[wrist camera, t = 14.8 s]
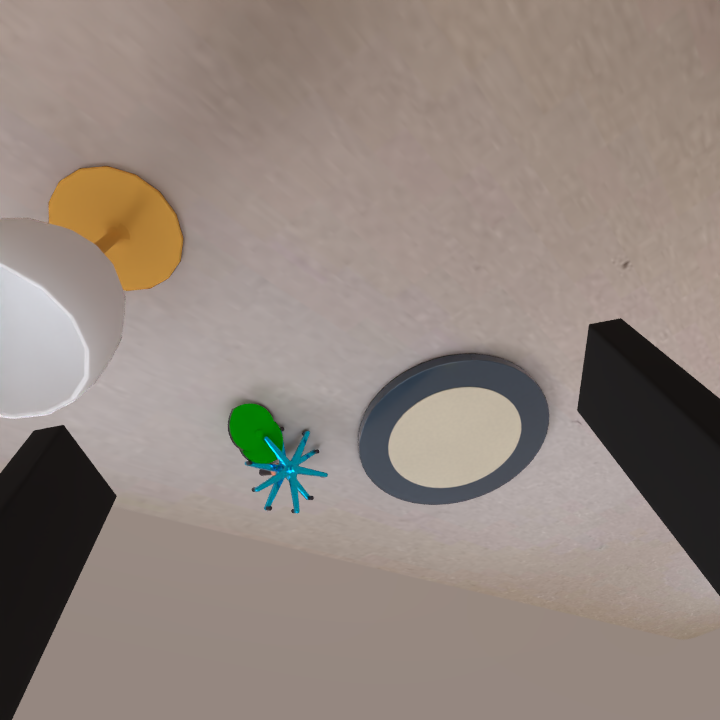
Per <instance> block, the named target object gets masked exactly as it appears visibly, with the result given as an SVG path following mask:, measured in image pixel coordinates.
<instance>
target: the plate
mask: <svg viewBox="0 0 720 720" xmlns="http://www.w3.org/2000/svg"><path fill="white" fill-rule="evenodd" d="M548 426H549V409H548V404H547V401H546V398H545V395H544V394H543V392H542V390H541V389H540V387H539V386H538V384H537V383H536V382H535V381H534V379H533V378H532V377H531V376H530V375H529V374H528V373H527V372H526V371H524V370H523V369H522V368H521V367H519V366H517V365H515V364H514V363H512V362H510V361H507V360H504V359H502V358H499V357H494V356H490V355H483V354H457V355H449V356H445V357H441V358H436V359H433V360H430V361H427V362H424V363H422V364H420V365H417V366H415V367H413V368H411V369H409V370H407V371H406V372H404V373H402V374H401V375H399V376H398V377H396V378H395V379H394V380H392V381H391V382H390V383H389V384H387V385H386V386H385V387H384V388H383V389H382V390H381V391H380V392H379V393H378V394H377V396H376V397H375V398H374V399H373V401H372V402H371V403H370V405H369V407H368V408H367V410H366V412H365V414H364V416H363V419H362V421H361V424H360V428H359V434H358V446H359V454H360V459H361V463H362V466H363V468H364V470H365V472H366V474H367V475H368V477H369V478H370V479H371V480H372V482H373V483H374V484H375V485H377V486H378V487H379V488H380V489H381V490H383V491H384V492H386V493H388V494H389V495H391V496H393V497H396V498H398V499H401V500H404V501H408V502H412V503H418V504H428V505H440V504H451V503H458V502H462V501H466V500H470V499H473V498H476V497H479V496H482V495H484V494H487V493H489V492H491V491H493V490H495V489H497V488H499V487H501V486H502V485H504V484H506V483H507V482H509V481H510V480H511V479H513V478H514V477H515V476H517V475H518V474H519V473H520V472H521V471H522V470H523V469H525V468H526V467H527V465H528V464H529V463H530V462H531V461H532V460H533V459H534V457H535V456H536V454H537V453H538V451H539V450H540V448H541V446H542V444H543V442H544V440H545V437H546V434H547V430H548Z"/></svg>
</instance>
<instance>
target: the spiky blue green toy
mask: <svg viewBox="0 0 720 720" xmlns="http://www.w3.org/2000/svg"><path fill="white" fill-rule="evenodd" d="M282 431H284V428H283V427H281V428H279V426H278V425H277V423H276V422H275V421H273V418H272V416H271V414H270V413H269V412H268V411H267V410H266V409H265V408H264V407H262V406H260V405H257V404H243V405H240V406H237V407H235V408H234V409H232V411H231V413H230V416H229V420H228V432H229V436H230V438H231V440H232V442H233V443H234V445H235V446H236V447H238V448H239V449H240V452H241V454H242V455H243V456H244V457H245V458H246V459H247V460H248V461H246V462H245V465H247V466H251V467H255V468H260V471H259V474H260V475H261V476H266V475H273V476H272V477H271V478H269V479H268V480H266V481H265V482H263V483H262V484H260V485H259V486H257V487H253V488H252V491H253V492H259V491H260V490H262V489H264V488H266V487H268V486H270V485H272V484H274V485H273V487H272V490H271V492H270V494H269V497H268V499H267V502H266V504H265V507H264V510H272V507H271V504H272V502H273V500H274V498H275V496H276V494H277V492H278V490H279V488H280V486H281V484H282V482H283V480H284V478H286V479H287V480H288V481H289V483H290V489H291V495H292V500H293V506H294V509H292V510H291V512H292V513H299V499H298V491H299V492H300V493H301V494H302V495H303V496H304V498H305V499H306V500H313V499H314V497H313V496H309V494H308V493H307V492H306V490H305V489H304V488H303V487H302V485H301V484H300V483H299V481H298V480H297V474H302V475H311V476H320V477H327V476H328V474H327V473H324V472H320V471H316V470H312V469H308V468H304V467H300V466H299V464H301V463H302V462H304V461H305V460H307V459H308V458H310V457H311V456H313V455H314V454H317V453H319V450H312V451H311V452H309V453H307V454H305V455H303V456H301V455H302V452H303V450H304V447H305V445H306V442H307V439H308V437H309V434H310V432H309V431H306V432H303V433H302V435H303V438H302V440H301V442H300V444H299V446H298V448H297V450H296V452H295V454H294V456H293V458H292V460H291V461H290V460H289V459H288V458H287V457H286V453H285V447H284V442H283V436H282ZM277 459H279V463H276V464H268V463H271V462H273V461H275V460H277Z"/></svg>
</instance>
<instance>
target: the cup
mask: <svg viewBox="0 0 720 720" xmlns="http://www.w3.org/2000/svg"><path fill="white" fill-rule="evenodd" d="M182 246H183V235H182V232H181V229H180V225H179V222H178V218H177V215H176V213H175V212H174V211H173V209H172V208H171V207H170V205H169V204H168V202H167V201H166V200H165V198H164V197H163V196H162V194H161V193H160V192H159V191H158V190H156V189H155V188H154V187H152V186H151V185H149V184H148V183H147V182H145V181H144V180H142V179H141V178H140V177H138V176H137V175H135V174H132V173H129V172H125V171H122V170H119V169H115V168H112V167H109V166H102V167H91V168H80V169H79V170H77V171H75V172H74V173H72V174H71V175H69V176H67V177H66V178H64V179H63V180H61V181H59V183H58V185H57V187H56V189H55V191H54V193H53V195H52V197H51V199H50V201H49V223H46V222H42V221H38V220H34V219H30V218H2V219H0V417H5V418H11V419H17V418H26V417H34V416H43V415H49V414H51V413H53V412H55V411H57V410H59V409H61V408H63V407H65V406H67V405H69V404H71V403H72V402H74V401H76V400H77V399H78V398H79V397H80V396H81V395H83V394H84V393H85V392H86V391H87V390H88V389H89V388H90V387H91V386H92V385H93V384H95V383H96V381H97V380H98V378H99V377H100V375H101V374H102V372H103V371H104V369H105V368H106V366H107V365H108V363H109V362H110V360H111V359H112V357H113V355H114V353H115V351H116V349H117V347H118V345H119V343H120V341H121V338H122V331H123V324H124V312H125V294H124V291H123V290H126V291H130V290H140V289H150V288H152V287H154V286H155V285H157V284H159V283H161V282H163V281H164V280H166V279H168V278H169V277H170V275H171V274H172V273H173V271H174V270H175V268H176V267H177V265H178V264H179V262H180V261H181V254H182Z"/></svg>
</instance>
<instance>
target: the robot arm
mask: <svg viewBox="0 0 720 720" xmlns="http://www.w3.org/2000/svg"><path fill="white" fill-rule="evenodd" d="M577 411H578V412H579V413H580V415H581V416H582V417H583V419H584V420H585V421H586V422H587V424H588V425H589V426H590V428H591V429H592V430H593V432H594V433H595V434H596V435H597V437H598V438H599V439H600V441H601V442H602V443H603V445H604V446H605V447H606V449H607V450H608V451H609V452H610V454H611V455H612V456H613V458H614V459H615V460H616V462H617V463H618V464H619V465H620V467H621V468H622V469H623V471H624V472H625V473H626V475H627V476H628V477H629V478H630V480H631V481H632V482H633V484H634V485H635V486H636V488H637V489H638V490H639V491H640V493H641V494H642V495H643V497H644V498H645V499H646V501H647V502H648V503H649V505H650V506H651V507H652V508H653V510H654V511H655V512H656V514H657V515H658V516H659V518H660V519H661V520H662V521H663V523H664V524H665V525H666V527H667V528H668V529H669V531H670V532H671V533H672V534H673V536H674V537H675V538H676V540H677V541H678V542H679V544H680V545H681V546H682V547H683V549H684V550H685V551H686V553H687V554H688V555H689V557H690V558H691V559H692V560H693V562H694V563H695V564H696V566H697V567H698V568H699V570H700V571H701V572H702V574H703V575H704V576H705V577H706V579H707V580H708V581H709V583H710V584H711V585H712V587H713V588H714V589H715V590H716V592H717V593H718V594H719V596H720V399H719V398H718V397H717V396H716V395H714V394H713V393H712V392H711V391H710V390H708V389H707V388H706V387H705V386H703V385H702V384H701V383H700V382H699V381H697V380H696V379H695V378H694V377H692V376H691V375H690V374H689V373H687V372H686V371H685V370H684V369H683V368H681V367H680V366H679V365H678V364H676V363H675V362H674V361H673V360H671V359H670V358H669V357H668V356H667V355H665V354H664V353H663V352H662V351H660V350H659V349H658V348H657V347H655V346H654V345H653V344H652V343H651V342H649V341H648V340H647V339H646V338H644V337H643V336H642V335H641V334H639V333H638V332H637V331H636V330H635V329H633V328H632V327H631V326H630V325H628V324H627V323H626V322H625V321H623V320H622V319H621V318H620V319H615V320H610V321H605V322H599V323H594V324H589V329H588V336H587V344H586V351H585V358H584V365H583V372H582V380H581V387H580V394H579V401H578V409H577ZM116 497H117V496H116V494H115V493H114V492H113V490H112V489H111V488H110V486H109V485H108V484H107V482H106V481H105V480H104V478H103V477H102V476H101V474H100V473H99V472H98V470H97V469H96V468H95V466H94V465H93V464H92V462H91V461H90V460H89V458H88V457H87V456H86V454H85V453H84V452H83V450H82V449H81V448H80V446H79V445H78V444H77V442H76V441H75V440H74V438H73V437H72V436H71V434H70V433H69V432H68V430H67V429H66V428H65V426H64V425H61V426H56V427H50V428H45V429H40V430H35V431H33V432H32V434H31V435H30V436H29V438H28V439H27V440H26V441H25V443H24V444H23V445H22V447H21V448H20V449H19V450H18V452H17V453H16V454H15V455H14V457H13V458H12V459H11V461H10V462H9V463H8V464H7V466H6V467H5V468H4V469H3V471H2V472H1V473H0V720H12V718H13V716H14V714H15V712H16V710H17V707H18V705H19V703H20V701H21V699H22V697H23V695H24V693H25V691H26V688H27V686H28V684H29V682H30V680H31V678H32V676H33V673H34V671H35V669H36V667H37V665H38V663H39V661H40V658H41V656H42V654H43V652H44V650H45V648H46V646H47V644H48V642H49V639H50V637H51V635H52V633H53V631H54V629H55V627H56V624H57V622H58V620H59V618H60V616H61V614H62V612H63V609H64V607H65V605H66V603H67V601H68V599H69V597H70V595H71V592H72V590H73V588H74V586H75V584H76V582H77V580H78V578H79V575H80V573H81V571H82V569H83V566H84V565H85V563H86V561H87V558H88V556H89V554H90V552H91V550H92V548H93V546H94V543H95V541H96V539H97V537H98V535H99V533H100V531H101V529H102V526H103V524H104V522H105V520H106V518H107V516H108V514H109V512H110V509H111V507H112V505H113V503H114V501H115V499H116Z"/></svg>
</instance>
